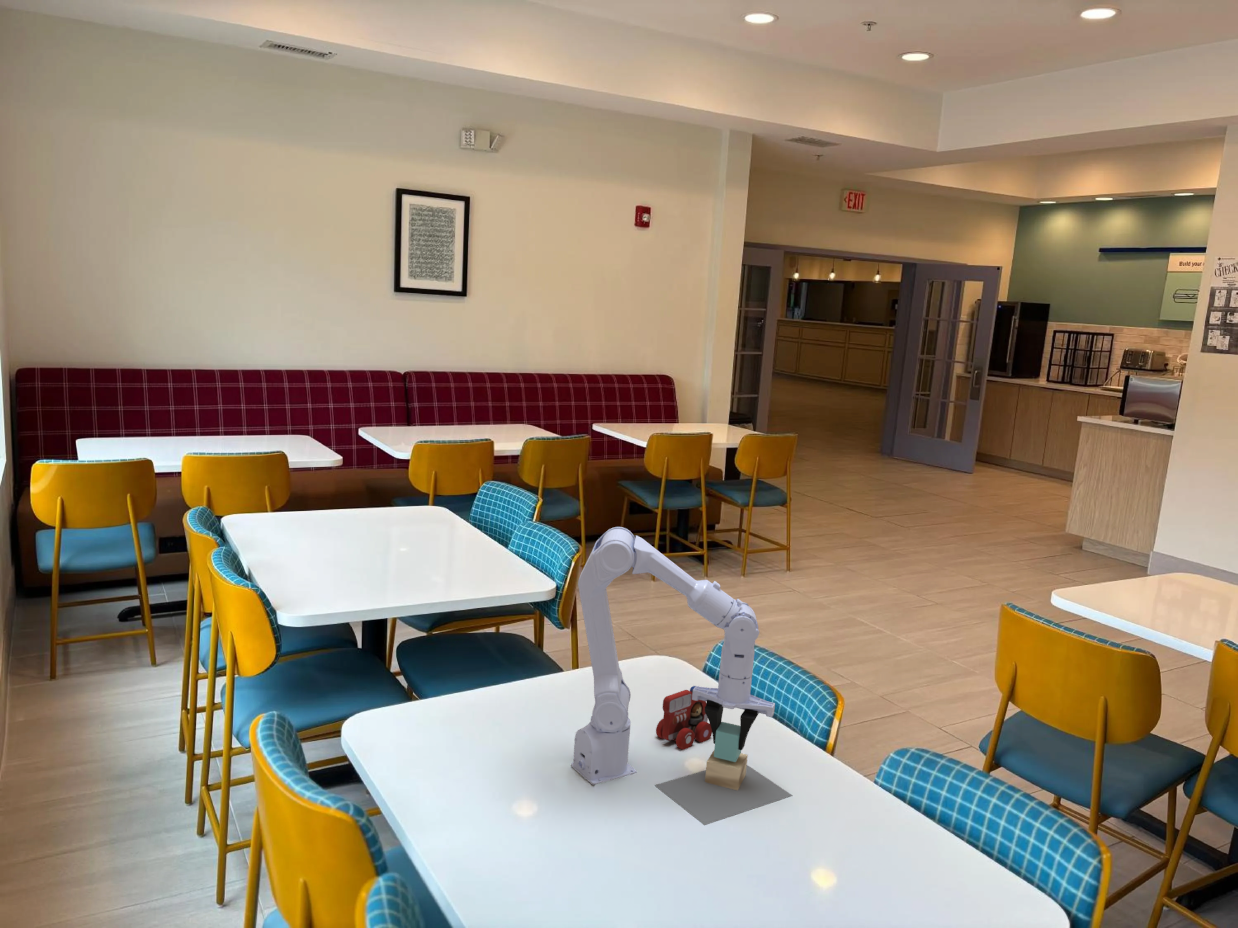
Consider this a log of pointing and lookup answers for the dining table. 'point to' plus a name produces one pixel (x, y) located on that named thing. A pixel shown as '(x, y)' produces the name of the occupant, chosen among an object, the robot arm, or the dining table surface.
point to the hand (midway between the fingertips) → (728, 744)
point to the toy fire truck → (684, 720)
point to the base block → (726, 771)
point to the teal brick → (727, 742)
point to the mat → (721, 795)
